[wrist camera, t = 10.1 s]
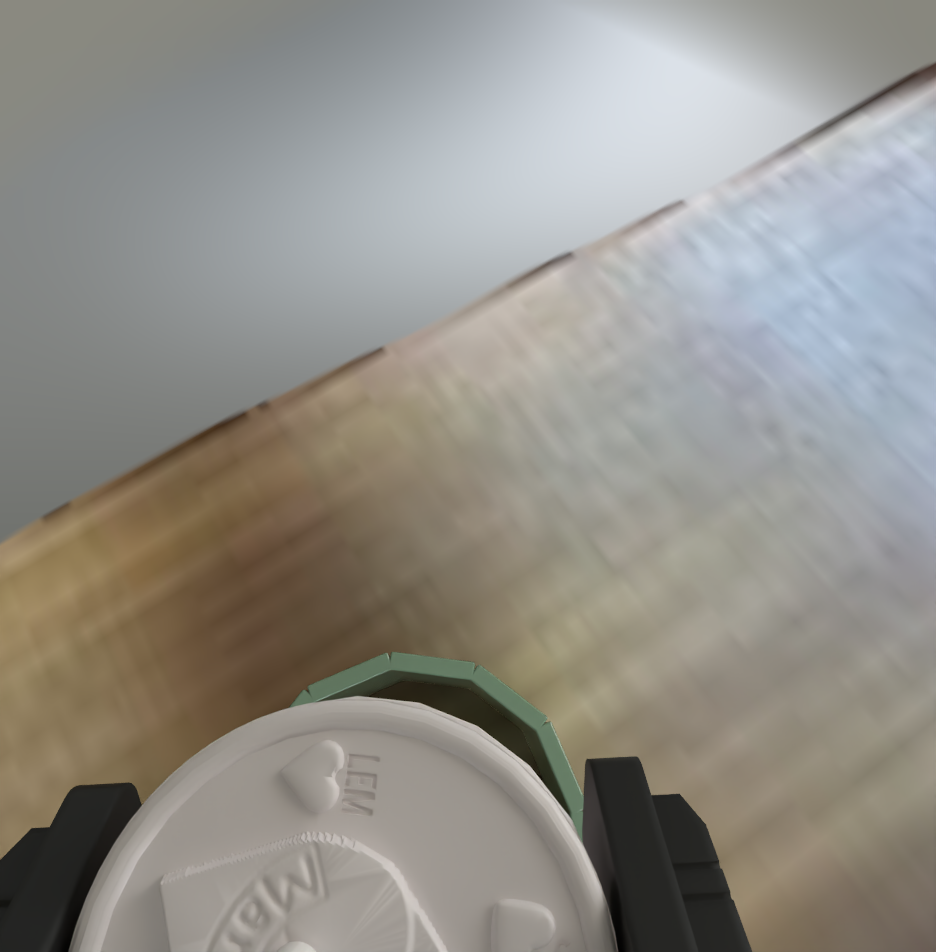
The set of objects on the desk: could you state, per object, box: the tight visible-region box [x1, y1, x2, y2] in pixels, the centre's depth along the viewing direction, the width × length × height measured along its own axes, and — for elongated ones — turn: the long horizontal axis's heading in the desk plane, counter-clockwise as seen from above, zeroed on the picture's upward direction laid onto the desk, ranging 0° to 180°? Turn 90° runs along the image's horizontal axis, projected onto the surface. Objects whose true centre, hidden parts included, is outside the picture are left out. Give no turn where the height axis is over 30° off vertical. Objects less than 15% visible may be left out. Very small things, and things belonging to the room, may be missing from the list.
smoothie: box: [69, 696, 618, 952], centre depth 11 cm, size 6×6×14 cm
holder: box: [289, 652, 584, 843], centre depth 23 cm, size 9×9×5 cm
